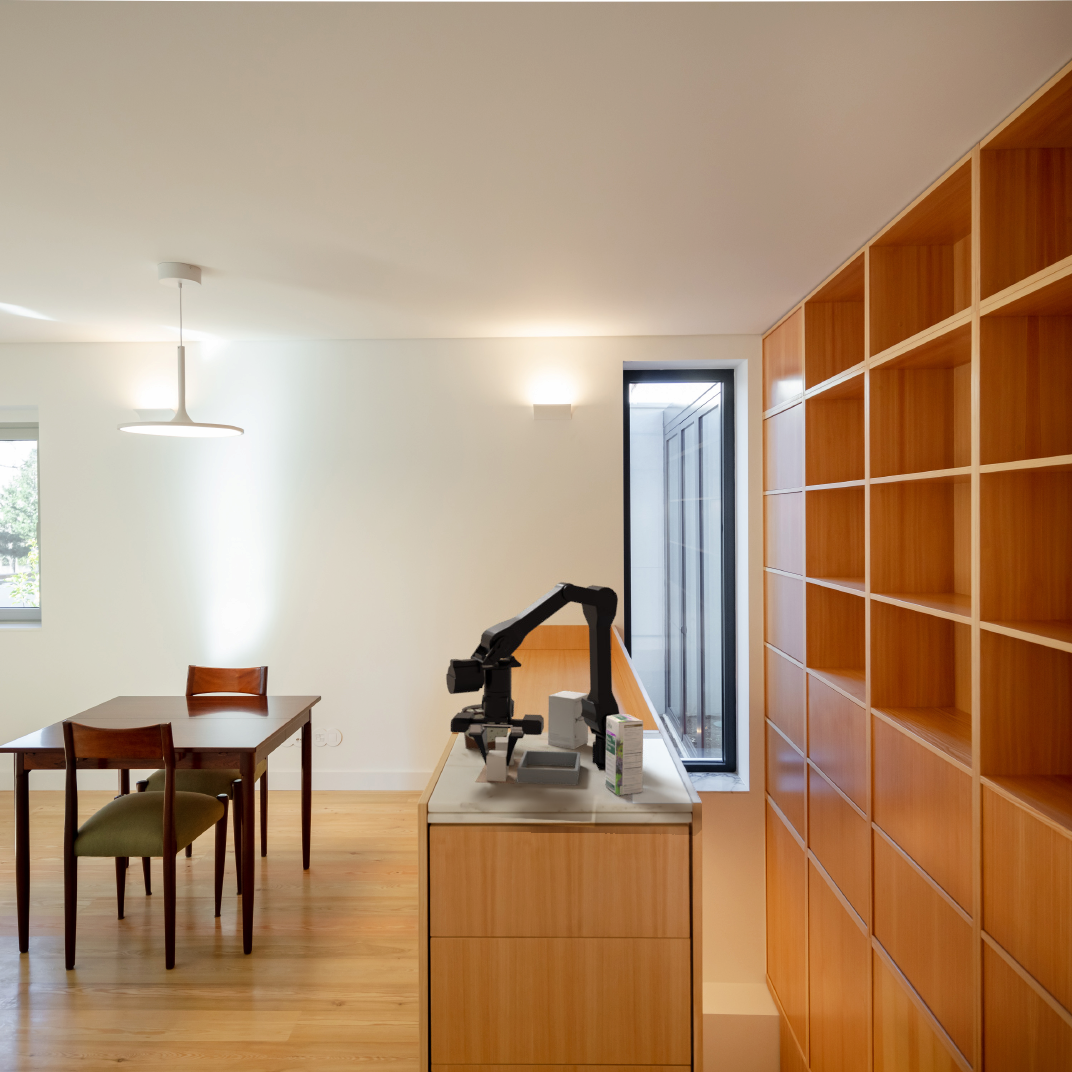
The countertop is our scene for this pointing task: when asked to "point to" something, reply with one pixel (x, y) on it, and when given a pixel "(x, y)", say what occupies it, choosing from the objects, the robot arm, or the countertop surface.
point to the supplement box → (566, 720)
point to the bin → (549, 774)
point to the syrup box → (624, 754)
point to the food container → (490, 731)
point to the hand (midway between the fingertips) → (497, 765)
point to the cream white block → (503, 746)
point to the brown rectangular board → (510, 778)
